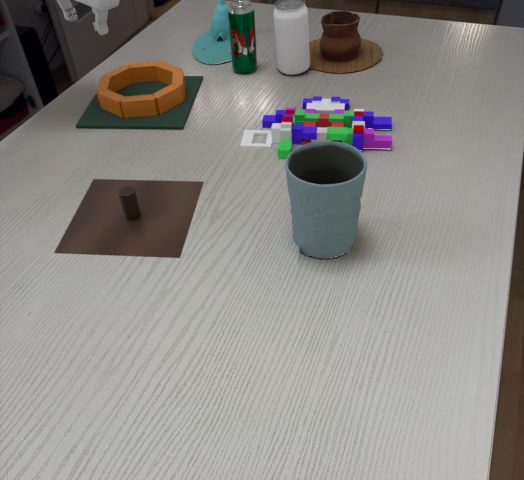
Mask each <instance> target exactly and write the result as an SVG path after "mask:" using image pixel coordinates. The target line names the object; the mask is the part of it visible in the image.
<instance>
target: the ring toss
mask: <svg viewBox="0 0 524 480" xmlns="http://www.w3.org/2000/svg"><path fill="white" fill-rule="evenodd" d="M204 182H205V181H197V180H156V179H155V180H153V179H150V180H149V179H115V178H114V179H109V178H107V179H106V178H93V179H92V181H91V183H90V185H89V187H88V189H86V192H85V193H84V196H83V198H82V199H81V201H80V204H79V205H78V207H77V209H76V211H75V212H74V214H73V216H72V218H71V220H70V222H69V224H68V226H67V227H66V229H65V231H64V233H63V236H62V237H61V239H60V241H59V242H58V245H57V246H56V247H55V249H54V254H62V255H63V254H64V255H65V254H66V255H89V256H92V255H93V256H116V257H117V256H118V257H141V258H164V259H165V258H166V259H167V258H168V259H180V258H181V256H182V253H183V250H184V247H185V243H186V240H187V237H188V233H189V230H190V227H191V223H192V221H193V218H194V214H195V211H196V208H197V204H198V202H199V199H200V196H201V192H202V190H203V185H204Z"/></svg>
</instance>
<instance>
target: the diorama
mask: <svg viewBox="0 0 524 480" xmlns="http://www.w3.org/2000/svg"><path fill="white" fill-rule="evenodd" d="M228 8H229V5H228V4H227V3H226V1H225V0H217V4H216V8H215V9H214V10H215V11H214V12H213V15H212V19H211V24H210V28H209V29H208V30H207V31H205V32H203V33H202V34H200V35H199V36H198V37H197V38H196V39H195V41H194V42H193V45H192V49H191V50H192V52H191V53H192V56H193V57H194V59H195V60H196V59H197V60H196V61H197V62H199V63H201V62H202V63H201V64H204V63H205V64H204V65H207V64H209V63H210V64H215V63H220V62H223V61H227V60H231V59H232V56H231V44H230V33H229V21H228Z"/></svg>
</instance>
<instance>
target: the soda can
mask: <svg viewBox="0 0 524 480" xmlns="http://www.w3.org/2000/svg"><path fill="white" fill-rule="evenodd" d="M228 7H229V8H228V21H229V33H230V44H231V56H232V61H231V65H232V70H233V71H234V72H236V74H240V75H246V74H247V75H248V74H251V73H253V72H255V71H256V69H257V68H258V53H257V36H256V17H255V7H254V6H253V2H252V1H251V0H232V1H229V3H228Z"/></svg>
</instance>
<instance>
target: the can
mask: <svg viewBox="0 0 524 480" xmlns="http://www.w3.org/2000/svg"><path fill="white" fill-rule="evenodd" d="M308 10H309V9H308V7H307V5H306V0H276V1H275V2H274V9H273V27H274V28H273V29H274V37H275V38H274V39H275V49H276V50H275V51H276V57H277V58H276V60H277V61H276V62H277V68H278V70H279V71H280V72H281V73H282V74H283V75H285V76H298V75H301V74H304V73H306V72H307V71H308V70H309V69H310V68H309V67H310V48H309V42H310V31H309V30H310V29H309V11H308Z"/></svg>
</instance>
